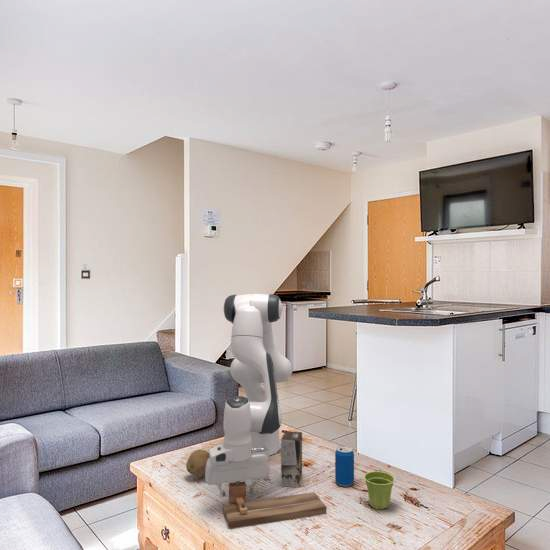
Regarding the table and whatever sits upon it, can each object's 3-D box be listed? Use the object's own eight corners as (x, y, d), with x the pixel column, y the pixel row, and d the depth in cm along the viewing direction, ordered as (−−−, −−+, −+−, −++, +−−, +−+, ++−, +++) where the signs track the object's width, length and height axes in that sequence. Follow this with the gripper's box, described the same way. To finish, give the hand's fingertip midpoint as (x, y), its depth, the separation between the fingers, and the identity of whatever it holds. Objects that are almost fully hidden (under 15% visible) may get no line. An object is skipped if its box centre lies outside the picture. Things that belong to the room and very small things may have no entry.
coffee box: (299, 487, 157) (298, 440, 157) (280, 486, 159) (280, 439, 159) (302, 476, 166) (302, 431, 166) (285, 474, 168) (285, 430, 168)
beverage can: (340, 477, 165) (340, 444, 165) (357, 482, 161) (357, 448, 161) (332, 484, 160) (331, 449, 160) (348, 489, 156) (348, 454, 156)
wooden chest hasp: (228, 505, 146) (228, 480, 146) (244, 503, 147) (244, 478, 147) (235, 523, 135) (235, 496, 135) (252, 520, 136) (252, 494, 136)
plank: (222, 511, 141) (222, 504, 141) (314, 498, 150) (314, 491, 150) (229, 528, 132) (229, 521, 132) (326, 513, 140) (326, 506, 140)
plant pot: (393, 515, 139) (393, 486, 139) (361, 509, 143) (361, 481, 143) (396, 500, 148) (396, 473, 148) (366, 495, 151) (366, 469, 151)
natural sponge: (188, 485, 160) (188, 456, 160) (184, 474, 168) (184, 447, 168) (214, 481, 162) (214, 453, 162) (209, 471, 171) (209, 444, 171)
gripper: (266, 443, 151) (267, 485, 151) (204, 450, 145) (204, 493, 145) (272, 450, 145) (272, 494, 145) (207, 457, 139) (207, 503, 139)
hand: (237, 494), depth 145 cm, fingers open, 8 cm apart
